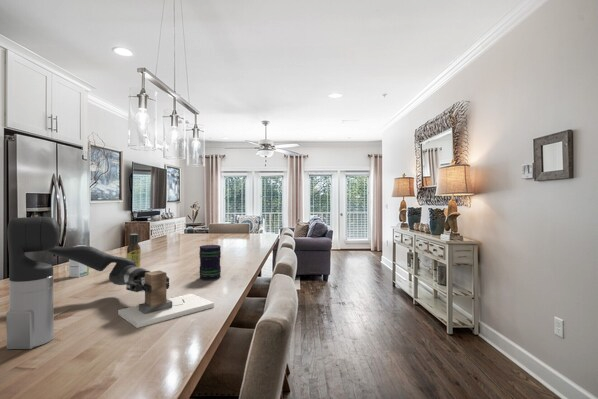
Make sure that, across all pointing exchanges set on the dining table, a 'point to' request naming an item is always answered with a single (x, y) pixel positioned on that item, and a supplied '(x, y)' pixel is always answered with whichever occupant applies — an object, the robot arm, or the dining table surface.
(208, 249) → the storage jar
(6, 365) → the dining table surface
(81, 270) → the syrup box
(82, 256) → the robot arm
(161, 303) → the block
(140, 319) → the board
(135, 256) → the sauce bottle
